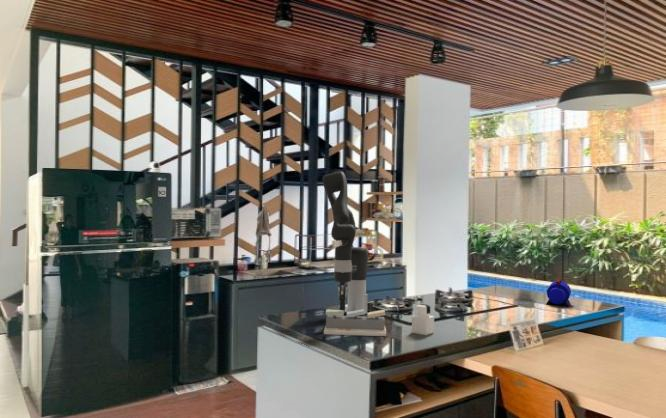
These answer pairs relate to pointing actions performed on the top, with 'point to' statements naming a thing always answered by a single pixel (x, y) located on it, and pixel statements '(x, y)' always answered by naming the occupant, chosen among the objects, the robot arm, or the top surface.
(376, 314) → the beige flat panel
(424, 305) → the medicine bottle
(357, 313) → the pale grey-blue box
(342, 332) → the switch panel
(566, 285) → the alarm clock
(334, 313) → the plate
